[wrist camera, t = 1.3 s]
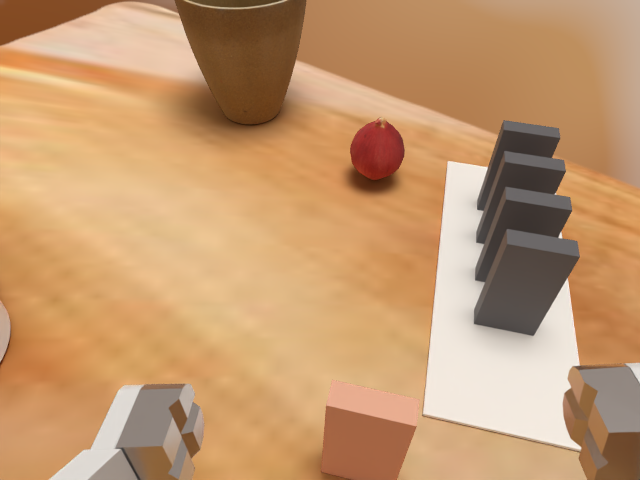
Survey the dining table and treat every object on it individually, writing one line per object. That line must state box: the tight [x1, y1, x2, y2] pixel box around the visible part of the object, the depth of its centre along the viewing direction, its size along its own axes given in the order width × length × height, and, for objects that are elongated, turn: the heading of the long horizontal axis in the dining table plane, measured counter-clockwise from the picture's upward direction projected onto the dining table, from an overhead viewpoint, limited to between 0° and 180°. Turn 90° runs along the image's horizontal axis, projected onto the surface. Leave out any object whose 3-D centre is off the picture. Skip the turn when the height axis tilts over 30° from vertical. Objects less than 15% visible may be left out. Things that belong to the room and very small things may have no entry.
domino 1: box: [477, 120, 560, 211], centre depth 51 cm, size 5×2×10 cm, turn 77°
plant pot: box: [175, 0, 306, 124], centre depth 62 cm, size 15×15×16 cm
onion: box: [350, 117, 404, 180], centre depth 55 cm, size 6×6×8 cm
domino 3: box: [475, 187, 572, 282], centre depth 44 cm, size 5×2×10 cm, turn 77°
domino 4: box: [474, 229, 580, 336], centre depth 41 cm, size 5×2×10 cm, turn 77°
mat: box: [423, 161, 581, 452], centre depth 48 cm, size 12×32×1 cm, turn 167°
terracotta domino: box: [321, 380, 419, 480], centre depth 32 cm, size 5×2×10 cm, turn 77°
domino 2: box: [476, 151, 566, 244], centre depth 47 cm, size 5×2×10 cm, turn 77°
